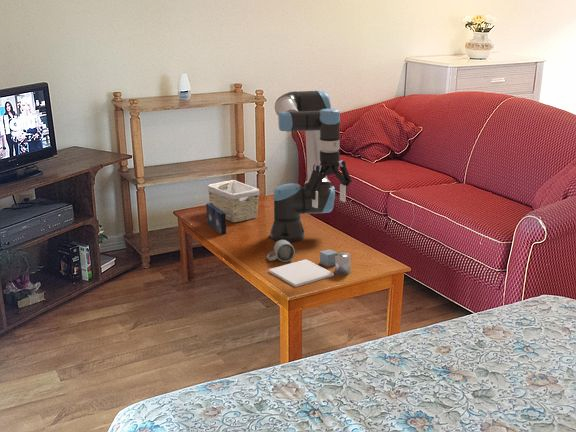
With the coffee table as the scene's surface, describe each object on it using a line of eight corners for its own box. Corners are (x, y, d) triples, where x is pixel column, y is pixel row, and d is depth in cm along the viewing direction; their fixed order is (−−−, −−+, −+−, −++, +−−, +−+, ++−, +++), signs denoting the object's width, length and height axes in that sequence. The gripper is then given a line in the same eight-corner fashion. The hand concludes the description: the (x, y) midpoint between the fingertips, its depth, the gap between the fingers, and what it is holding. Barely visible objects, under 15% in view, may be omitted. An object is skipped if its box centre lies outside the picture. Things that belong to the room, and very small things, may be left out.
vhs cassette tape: (226, 234, 304) (225, 213, 300) (220, 235, 302) (219, 214, 299) (212, 222, 319) (211, 202, 316) (206, 223, 318) (205, 203, 315)
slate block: (329, 260, 272) (329, 249, 270) (337, 264, 268) (337, 252, 267) (319, 263, 269) (319, 251, 268) (327, 267, 265) (327, 255, 264)
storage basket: (207, 212, 335) (205, 184, 330) (235, 206, 344) (234, 178, 339) (232, 224, 316) (231, 194, 312) (261, 218, 325) (260, 188, 321)
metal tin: (343, 267, 264) (343, 251, 262) (353, 272, 260) (353, 255, 257) (331, 271, 261) (331, 254, 259) (341, 276, 256) (341, 259, 254)
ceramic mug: (290, 254, 279) (289, 236, 277) (295, 261, 272) (294, 243, 269) (265, 257, 277) (264, 239, 274) (269, 264, 269) (268, 246, 267)
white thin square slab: (306, 261, 271) (306, 259, 271) (333, 275, 257) (333, 273, 256) (268, 271, 261) (268, 269, 261) (295, 287, 247) (295, 284, 247)
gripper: (308, 156, 245) (308, 212, 251) (361, 147, 258) (360, 200, 265) (296, 153, 251) (297, 207, 257) (348, 144, 264) (347, 196, 271)
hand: (329, 204), depth 261 cm, fingers open, 13 cm apart
